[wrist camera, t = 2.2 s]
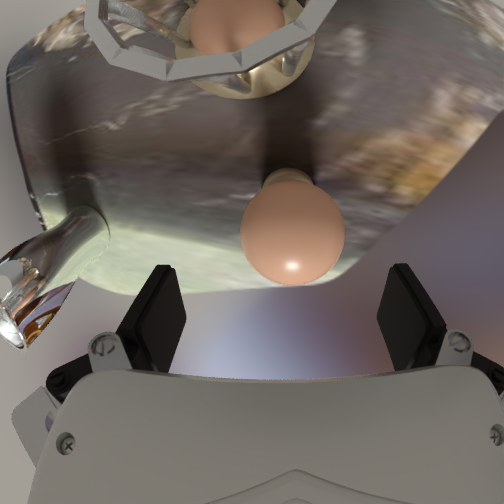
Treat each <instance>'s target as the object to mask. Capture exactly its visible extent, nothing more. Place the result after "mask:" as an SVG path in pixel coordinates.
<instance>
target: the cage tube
mask: <svg viewBox="0 0 504 504" xmlns="http://www.w3.org/2000/svg"><path fill="white" fill-rule="evenodd" d="M183 1H184V2H185V3H186V4H187V5H188V6H189V7H190V8H189V9H188V10H187V11H186V13H185V14H184V15H183V17H182V19H181V21H180V22H179V25H178V27H177V30H176V32H175V31H174V30H172V29H171V28H169V27H167V26H166V25H164V24H162V23H160V22H159V21H157V20H155V19H153V18H152V17H150V16H148V15H146V14H144V13H143V12H141V11H139V10H137V9H135V8H133V7H131V6H129V5H127V4H125V3H123V2H121V1H119V0H86V8H85V21H84V27H85V30H86V31H87V33H88V34H89V36H90V37H91V38H92V40H93V41H94V43H95V44H96V46H97V47H98V48H99V50H100V51H101V53H102V54H103V56H104V57H105V58H106V60H107V61H108V63H109V64H110V65H114V66H118V67H122V68H125V69H129V70H132V71H136V72H139V73H142V74H145V75H148V76H151V77H155V78H158V79H160V80H163V81H167V82H180V81H186V80H191V81H192V82H193V83H194V84H195V85H197V86H198V87H200V88H201V89H203V90H205V91H207V92H209V93H212V94H214V95H217V96H221V97H226V98H231V99H255V98H260V97H265V96H268V95H271V94H274V93H276V92H278V91H280V90H282V89H284V88H285V87H287V86H288V85H290V84H291V83H292V82H293V81H295V80H296V79H297V78H298V77H299V76H300V75H301V73H302V72H303V71H304V69H305V68H306V66H307V65H308V63H309V61H310V59H311V56H312V53H313V50H314V44H315V33H316V31H317V30H318V28H319V27H320V25H321V24H322V22H323V21H324V19H325V18H326V16H327V15H328V13H329V12H330V11H331V9H332V8H333V6H334V5H335V3H336V2H337V0H306V4H305V8H303V7H302V6H301V5H300V4H299V3H298V2H297V1H296V0H275V1H276V2H277V3H278V5H279V6H280V8H281V10H282V11H283V14H284V19H285V26H284V27H282V28H280V29H277V30H275V31H273V32H271V33H269V34H267V35H266V36H264V37H262V38H260V39H258V40H256V41H254V42H252V43H251V44H249V45H247V46H245V47H243V48H242V49H240V50H238V51H237V52H228V53H219V54H211V55H204V56H203V55H202V54H201V53H199V52H198V50H197V49H196V48H195V47H194V45H193V44H192V42H191V40H190V37H189V33H188V21H189V17H190V14H191V12H192V10H193V8H194V7H195V5H196V4H197V3H198V2H199V1H200V0H183ZM108 17H110V18H113V19H116V20H119V21H121V22H124V23H126V24H129V25H131V26H134V27H136V28H139V29H141V30H143V31H146V32H148V33H150V34H152V35H155V36H157V37H159V38H161V39H163V40H165V41H167V42H169V43H171V44H173V45H175V54H176V58H177V60H175V59H173V58H170V57H168V56H165V55H162V54H159V53H156V52H153V51H151V50H148V49H145V48H141V47H138V46H135V45H131V44H129V45H126V44H125V43H124V41H123V40H122V39H121V38H120V36H119V35H118V34H117V32H116V31H115V30H114V28H113V27H112V26H111V24H110V23H109V22H108Z"/></svg>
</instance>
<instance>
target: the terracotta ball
mask: <svg viewBox="0 0 504 504" xmlns="http://www.w3.org/2000/svg"><path fill="white" fill-rule="evenodd" d="M240 238H241V245H242V248H243V251H244V253H245V256H246V258H247V260H248V261H249V263H250V264H251V265H252V266H253V268H254V269H255V270H256V271H257V272H258V273H259V274H261V275H262V276H263V277H265V278H267V279H269V280H271V281H273V282H276V283H279V284H283V285H303V284H307V283H310V282H312V281H315V280H317V279H319V278H320V277H322V276H323V275H325V274H326V273H327V272H328V271H329V270H330V269H331V268H332V267H333V266H334V264H335V263H336V261H337V260H338V258H339V256H340V254H341V251H342V248H343V244H344V238H345V229H344V222H343V218H342V215H341V213H340V210H339V208H338V207H337V205H336V203H335V202H334V201H333V200H332V198H331V197H330V196H329V195H328V194H327V193H326V192H324V191H323V190H322V189H320V188H318V187H316V186H315V185H313V184H310V183H307V182H303V181H296V180H288V181H281V182H277V183H274V184H272V185H270V186H268V187H266V188H264V189H263V190H261V191H260V192H259V193H258V194H257V195H255V197H254V198H253V199H252V200H251V201H250V203H249V204H248V206H247V208H246V210H245V212H244V214H243V217H242V220H241V227H240Z"/></svg>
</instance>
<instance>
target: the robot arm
mask: <svg viewBox="0 0 504 504" xmlns="http://www.w3.org/2000/svg"><path fill="white" fill-rule="evenodd" d="M377 321H378V324H379V326H380V329H381V332H382V334H383V337H384V340H385V343H386V346H387V348H388V351H389V354H390V357H391V360H392V363H393V366H394V369H395V371H393V372H385V373H378V374H370V375H360V376H351V377H350V376H349V377H337V378H321V379H297V380H296V379H295V380H258V379H257V380H256V379H230V378H214V377H202V376H192V375H181V374H172V373H168V372H169V369H170V366H171V363H172V360H173V357H174V354H175V351H176V348H177V345H178V342H179V340H180V337H181V334H182V331H183V328H184V326H185V323H186V312H185V309H184V305H183V300H182V296H181V292H180V288H179V284H178V280H177V276H176V271H175V269H174V268H171V266H170V265H157V266H156V267H155V268H154V270H153V272H152V273H151V275H150V276H149V278H148V279H147V281H146V283H145V284H144V286H143V287H142V289H141V291H140V292H139V294H138V295H137V297H136V298H135V300H134V302H133V304H132V305H131V307H130V308H129V310H128V312H127V314H126V315H125V317H124V319H123V321H122V322H121V324H120V326H119V327H118V329H117V331H116V333H113V332H103V333H100V334H98V335H96V336H95V337H94V338H93V339H92V340H91V341H90V343H89V345H88V354H86V355H84V356H81V357H79V358H77V359H75V360H73V361H71V362H69V363H67V364H65V365H62V366H60V367H58V368H56V369H54V370H53V371H52V372H51V373H50V374H49V376H48V377H47V380H46V387H44V388H43V387H42V386H41V387H40V388H38V389H37V390H36V391H35V392H34V393H32V394H31V395H30V396H29V397H27V398H26V399H25V400H24V401H23V402H21V403H20V404H19V405H18V406H17V407H16V408H15V409H14V410H13V413H12V423H13V425H14V427H15V429H16V431H17V434H18V436H19V438H20V440H21V442H22V444H23V445H24V447H25V449H26V451H27V453H28V455H29V456H30V458H31V460H32V462H33V463H34V465H35V467H36V471H35V475H34V479H33V482H32V486H31V491H30V495H29V499H28V504H504V368H503V367H502V366H500V365H499V364H497V363H495V362H493V361H491V360H489V359H487V358H486V357H483V356H481V355H480V354H478V353H476V352H474V351H473V348H474V344H473V341H472V339H471V338H470V336H469V335H468V334H467V333H465V332H464V331H462V330H458V329H452V330H449V331H447V329H446V323H445V321H444V320H443V318H442V316H441V315H440V313H439V311H438V310H437V308H436V306H435V305H434V304H433V302H432V300H431V299H430V297H429V295H428V294H427V292H426V291H425V289H424V288H423V286H422V285H421V283H420V281H419V280H418V279H417V277H416V276H415V274H414V273H413V271H412V270H411V268H410V267H409V265H408V264H406V263H400V264H394V265H393V267H391V268H390V270H389V273H388V278H387V281H386V285H385V289H384V292H383V296H382V299H381V303H380V307H379V309H378V313H377Z"/></svg>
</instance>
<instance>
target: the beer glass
mask: <svg viewBox="0 0 504 504" xmlns="http://www.w3.org/2000/svg"><path fill="white" fill-rule="evenodd" d="M109 242H110V234H109V229H108V226H107V224H106V222H105V220H104V219H103V217H102V216H101V215H100V214H99V213H98V212H97V211H96V210H95V209H93V208H92V207H90V206H86V205H79V206H76V207H75V208H73V209H72V210H71V211H70V212H69V213H68V214H67V215H66V217H65V218H64V219H63V220H62V221H61V222H60V223H58V224H57V225H56V226H54V227H53V228H51V229H49V230H47V231H45V232H42V233H40V234H38V235H36V236H34V237H32V238H30V239H28V240H26V241H24V242H23V243H21V244H19V245H18V246H16V247H14V248H13V249H12V250H11V251H9V252H8V253H7V254H6V255H4V256H3V257H2V258H1V259H0V337H1V338H2V339H3V340H4V341H5V342H6V343H8V344H9V345H10V346H11V347H13V348H14V349H16V350H18V351H20V352H26V351H27V349H28V347H29V346H30V345H31V344H32V343H33V342H34V340H35V339H36V338H37V337H38V336H39V335H40V334H41V332H42V331H43V330H44V329H45V328H46V327H47V325H48V324H49V323H50V322H51V320H52V319H53V318H54V317H55V315H56V314H57V312H58V311H59V310H60V308H61V306H62V305H63V303H64V301H65V300H66V298H67V296H68V295H69V293H70V291H71V289H72V287H73V286H74V284H75V282H76V280H77V278H78V277H79V275H80V274H81V272H82V270H83V269H84V268H85V267H86V265H88V264H89V263H90V262H91V261H92V260H94V259H95V258H97V257H99V256H100V255H102V254H103V253H104V252H105V251H106V250H107V248H108V246H109Z"/></svg>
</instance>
